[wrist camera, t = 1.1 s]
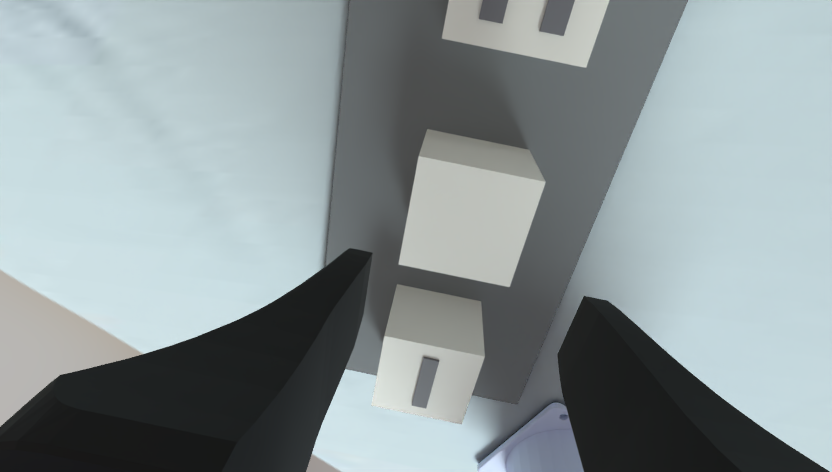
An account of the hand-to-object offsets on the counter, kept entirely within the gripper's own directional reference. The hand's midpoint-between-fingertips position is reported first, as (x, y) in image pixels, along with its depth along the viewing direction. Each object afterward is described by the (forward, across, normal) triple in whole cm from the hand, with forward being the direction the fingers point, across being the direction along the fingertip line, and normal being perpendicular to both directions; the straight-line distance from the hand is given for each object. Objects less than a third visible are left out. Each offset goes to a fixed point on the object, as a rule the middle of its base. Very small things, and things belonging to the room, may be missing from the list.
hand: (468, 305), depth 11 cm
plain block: (+9, 0, 0) cm, 9 cm away
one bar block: (+9, 0, +8) cm, 12 cm away
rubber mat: (+9, 0, 0) cm, 9 cm away
